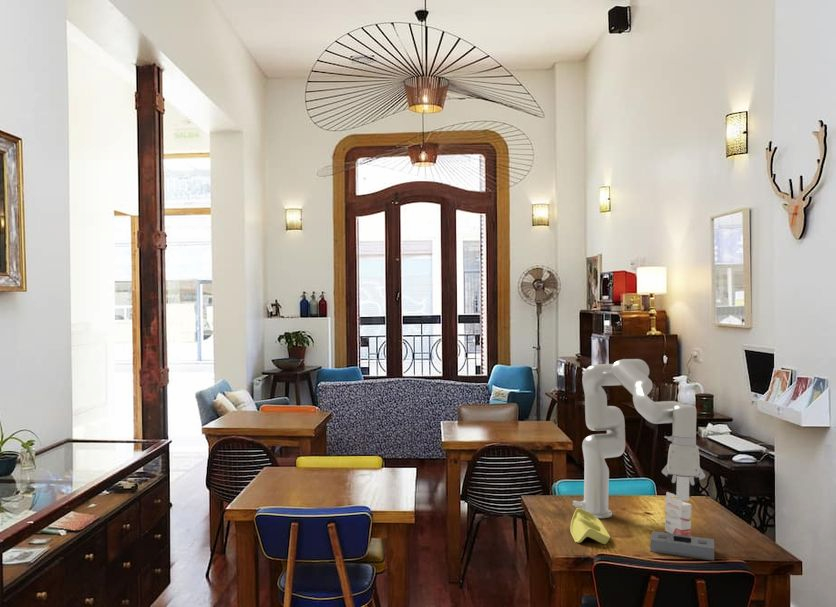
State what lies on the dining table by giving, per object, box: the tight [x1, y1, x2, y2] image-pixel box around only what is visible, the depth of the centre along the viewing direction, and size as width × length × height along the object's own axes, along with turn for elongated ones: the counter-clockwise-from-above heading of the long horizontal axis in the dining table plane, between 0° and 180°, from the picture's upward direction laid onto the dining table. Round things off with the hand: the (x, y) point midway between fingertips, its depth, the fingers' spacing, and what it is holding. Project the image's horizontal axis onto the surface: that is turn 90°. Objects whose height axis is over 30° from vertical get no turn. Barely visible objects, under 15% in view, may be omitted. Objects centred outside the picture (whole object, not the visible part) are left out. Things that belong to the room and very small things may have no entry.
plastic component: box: [569, 507, 611, 545], centre depth 254 cm, size 20×7×10 cm
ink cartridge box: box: [664, 491, 692, 536], centre depth 258 cm, size 9×5×15 cm, turn 23°
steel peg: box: [675, 475, 690, 502], centre depth 240 cm, size 4×4×8 cm
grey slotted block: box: [649, 530, 715, 562], centre depth 240 cm, size 20×10×4 cm, turn 68°
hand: (682, 494), depth 240 cm, fingers closed on steel peg, 4 cm apart
